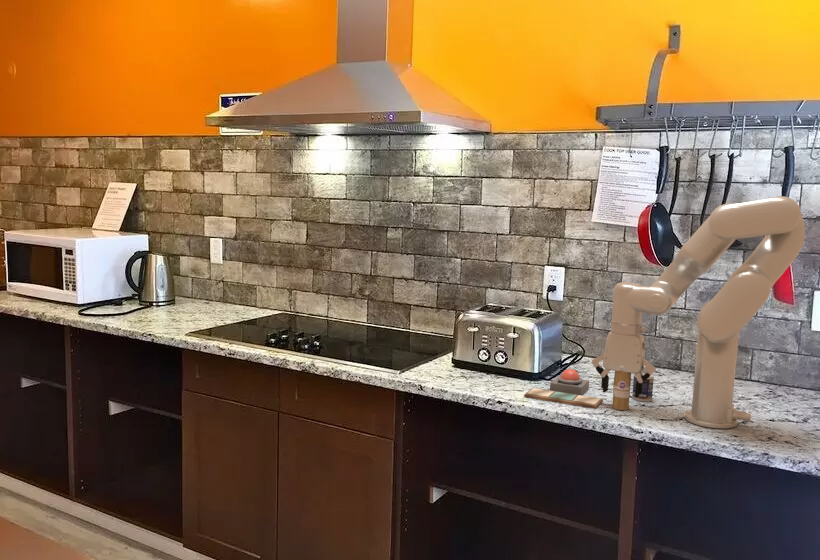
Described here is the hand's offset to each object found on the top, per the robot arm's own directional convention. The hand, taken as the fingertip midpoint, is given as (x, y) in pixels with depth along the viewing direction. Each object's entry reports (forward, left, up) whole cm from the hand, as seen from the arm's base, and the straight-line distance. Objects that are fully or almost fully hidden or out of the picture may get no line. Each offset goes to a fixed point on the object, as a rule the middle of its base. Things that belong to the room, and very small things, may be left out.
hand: (621, 393), depth 202 cm
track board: (+15, 0, -4) cm, 16 cm away
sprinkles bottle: (0, 0, -4) cm, 4 cm away
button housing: (+16, -10, -4) cm, 19 cm away
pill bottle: (-4, -12, -4) cm, 13 cm away
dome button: (+16, -10, -3) cm, 19 cm away
